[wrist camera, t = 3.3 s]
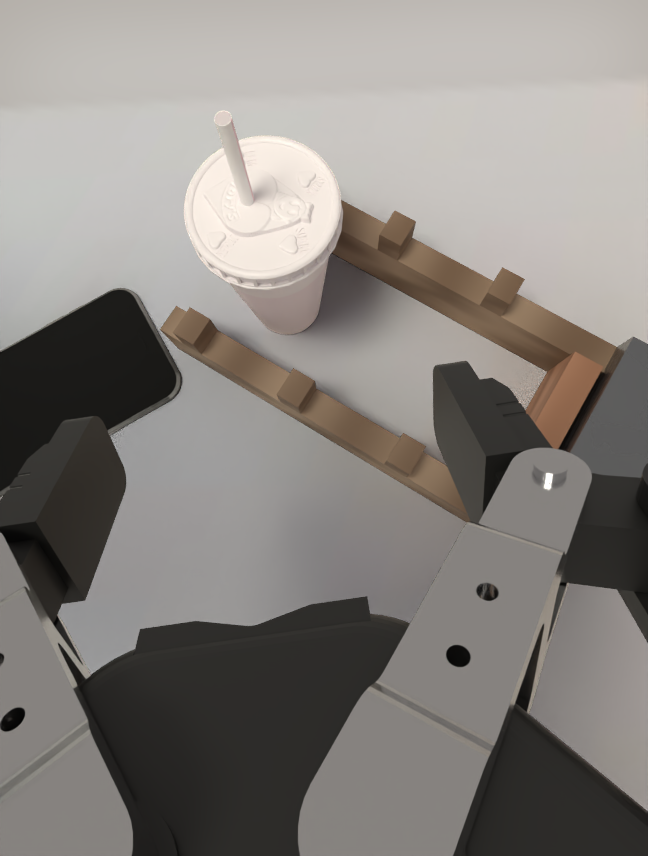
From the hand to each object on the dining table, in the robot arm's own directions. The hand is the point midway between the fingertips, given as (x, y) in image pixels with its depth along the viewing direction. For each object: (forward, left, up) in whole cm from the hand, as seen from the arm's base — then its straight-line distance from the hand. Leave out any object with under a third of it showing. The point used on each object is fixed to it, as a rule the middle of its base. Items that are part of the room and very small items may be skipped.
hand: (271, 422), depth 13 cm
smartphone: (-15, -4, -16) cm, 23 cm away
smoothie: (-6, +8, -16) cm, 19 cm away
